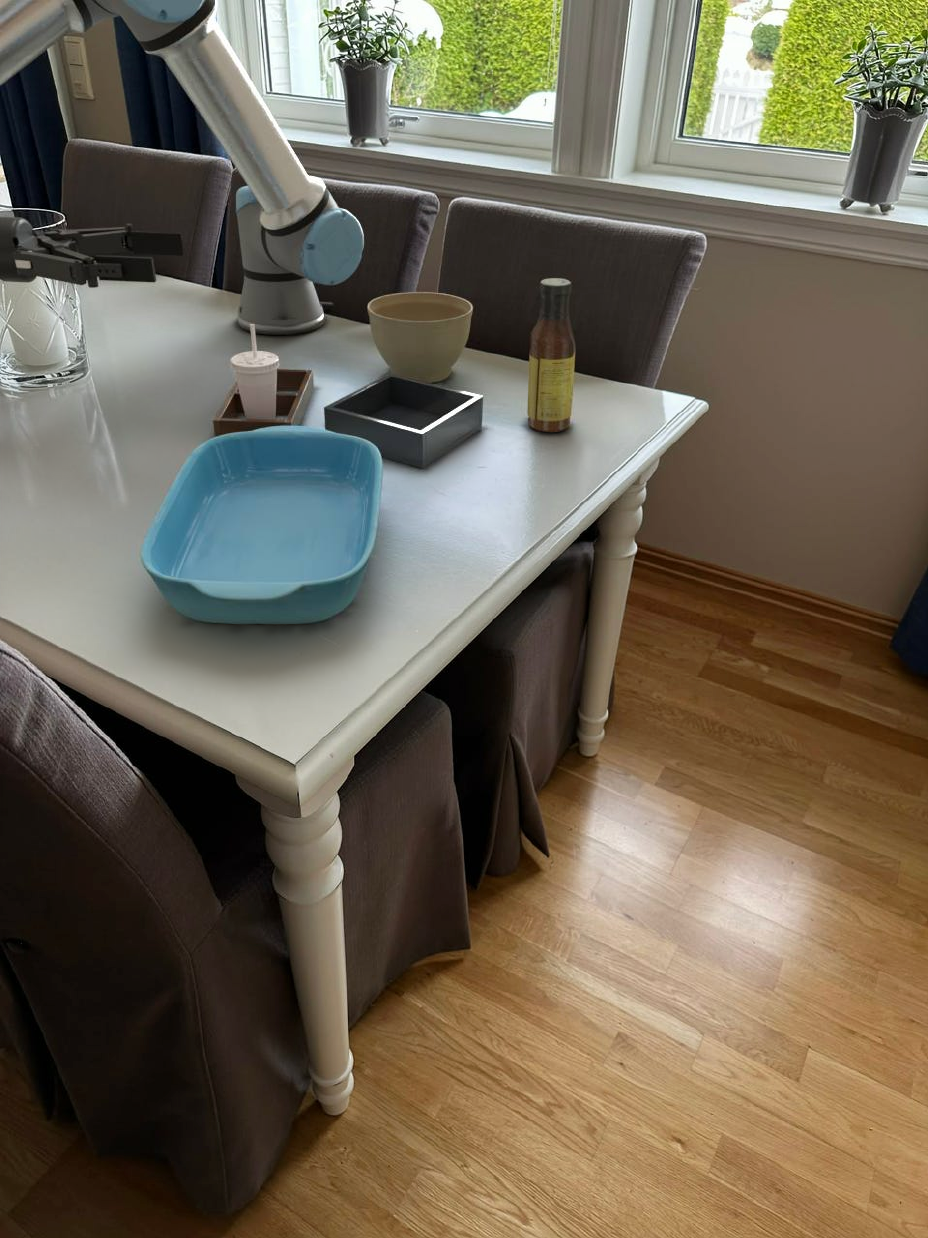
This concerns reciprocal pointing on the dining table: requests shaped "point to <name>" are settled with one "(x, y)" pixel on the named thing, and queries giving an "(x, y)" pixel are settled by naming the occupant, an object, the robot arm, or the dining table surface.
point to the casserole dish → (267, 526)
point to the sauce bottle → (551, 360)
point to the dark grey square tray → (407, 418)
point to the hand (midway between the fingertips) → (169, 256)
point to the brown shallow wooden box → (285, 404)
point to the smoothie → (256, 381)
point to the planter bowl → (420, 332)
